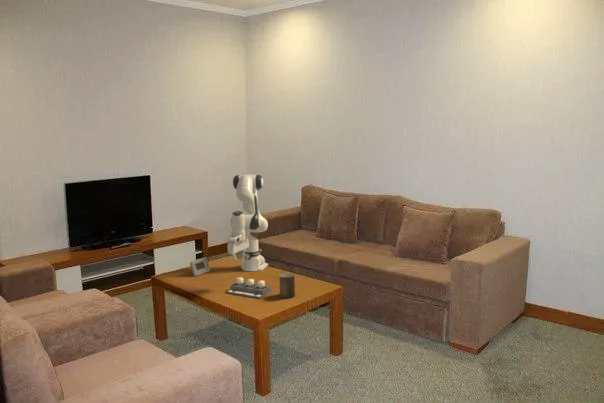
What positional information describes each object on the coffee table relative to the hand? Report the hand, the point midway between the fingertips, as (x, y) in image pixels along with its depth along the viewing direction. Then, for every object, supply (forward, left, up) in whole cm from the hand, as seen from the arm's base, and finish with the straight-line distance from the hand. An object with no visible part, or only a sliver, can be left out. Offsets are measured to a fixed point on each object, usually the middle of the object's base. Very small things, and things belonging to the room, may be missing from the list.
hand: (238, 257), depth 315 cm
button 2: (0, +8, -18) cm, 20 cm away
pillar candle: (-3, +33, -22) cm, 40 cm away
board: (+1, +8, -22) cm, 23 cm away
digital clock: (-18, -45, -22) cm, 53 cm away
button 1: (0, 0, -18) cm, 18 cm away
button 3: (0, +16, -18) cm, 24 cm away
